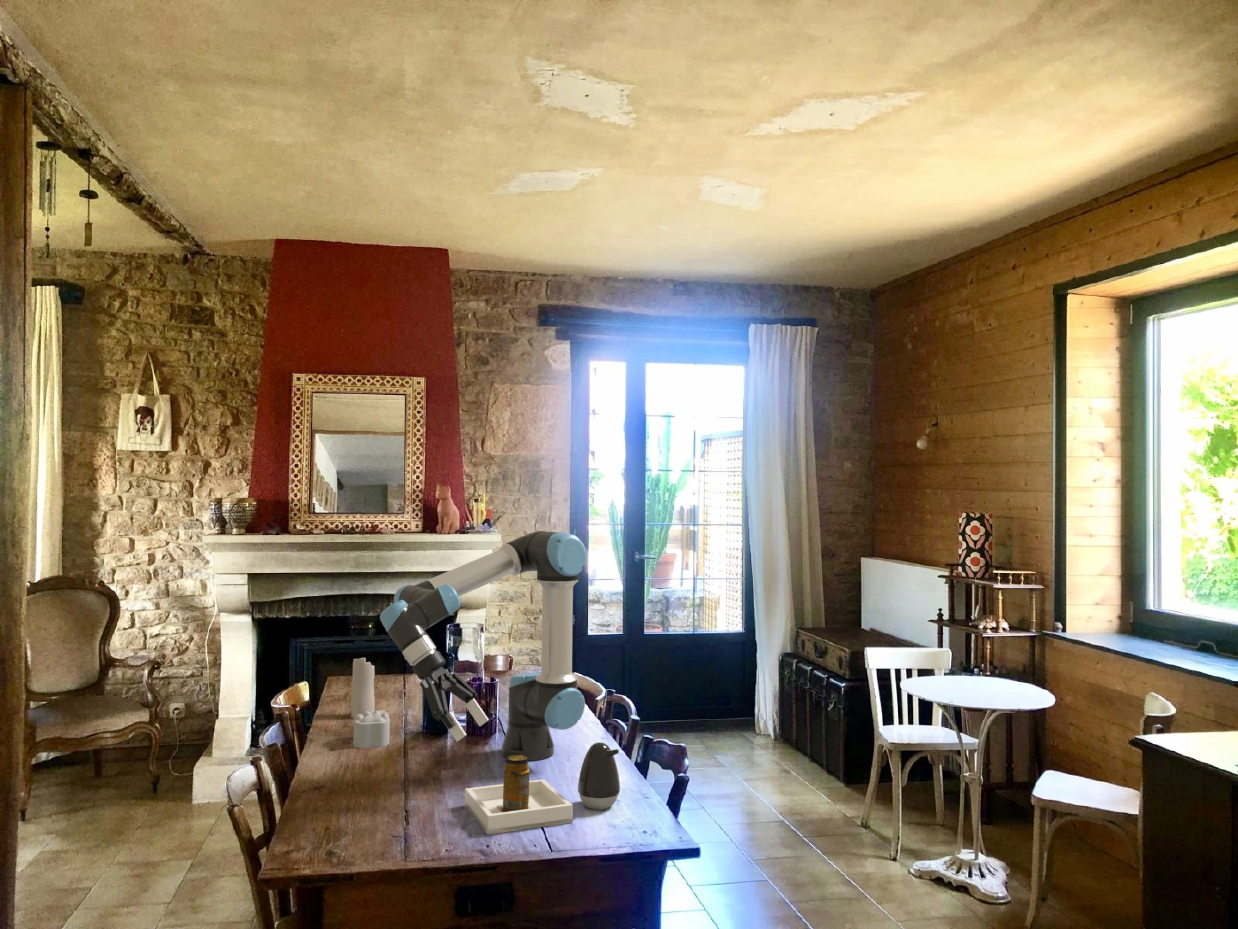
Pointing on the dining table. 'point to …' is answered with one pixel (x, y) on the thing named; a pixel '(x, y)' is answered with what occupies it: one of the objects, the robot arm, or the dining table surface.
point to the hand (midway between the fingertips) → (473, 730)
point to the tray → (542, 800)
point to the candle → (363, 688)
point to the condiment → (515, 784)
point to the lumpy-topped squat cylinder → (371, 730)
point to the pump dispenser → (599, 777)
